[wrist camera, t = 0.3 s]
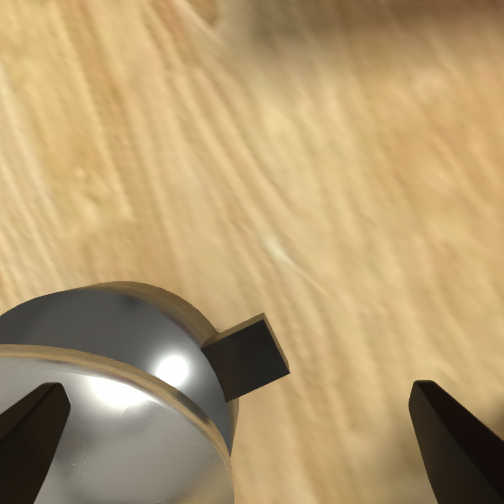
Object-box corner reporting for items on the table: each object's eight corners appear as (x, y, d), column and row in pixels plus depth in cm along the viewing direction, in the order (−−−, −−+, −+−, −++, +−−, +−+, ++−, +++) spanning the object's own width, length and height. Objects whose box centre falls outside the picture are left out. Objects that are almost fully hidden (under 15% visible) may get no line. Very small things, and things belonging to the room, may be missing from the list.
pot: (340, 460, 22) (361, 522, 17) (39, 594, 23) (-23, 689, 18) (223, 218, 22) (209, 209, 17) (-70, 363, 24) (-162, 394, 19)
